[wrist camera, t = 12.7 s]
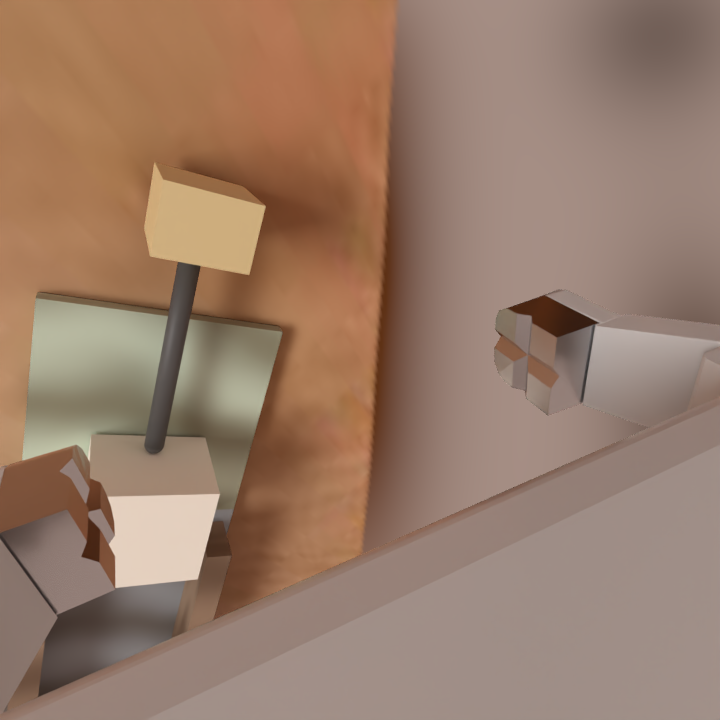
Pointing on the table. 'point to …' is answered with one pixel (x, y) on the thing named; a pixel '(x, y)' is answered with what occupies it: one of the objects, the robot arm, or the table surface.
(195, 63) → the table surface
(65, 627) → the shelf lane
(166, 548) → the block plunger with rod
